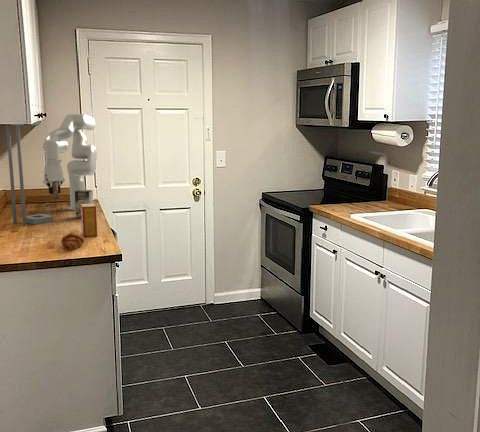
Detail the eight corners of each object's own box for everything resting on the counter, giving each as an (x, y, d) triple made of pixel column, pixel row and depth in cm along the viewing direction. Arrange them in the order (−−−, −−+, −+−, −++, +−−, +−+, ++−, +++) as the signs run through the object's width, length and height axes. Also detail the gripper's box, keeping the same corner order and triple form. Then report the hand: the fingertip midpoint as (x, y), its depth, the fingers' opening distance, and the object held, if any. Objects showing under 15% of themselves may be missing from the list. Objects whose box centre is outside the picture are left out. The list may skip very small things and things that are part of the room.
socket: (41, 218, 312) (41, 213, 311) (53, 221, 305) (53, 216, 304) (22, 221, 302) (22, 216, 302) (34, 224, 295) (33, 219, 295)
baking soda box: (81, 233, 273) (80, 203, 270) (94, 232, 275) (93, 202, 272) (83, 237, 264) (82, 206, 261) (97, 236, 267) (95, 205, 264)
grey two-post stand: (35, 219, 309) (28, 120, 298) (46, 222, 302) (40, 121, 291) (12, 223, 298) (4, 120, 287) (23, 226, 291) (16, 121, 280)
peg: (56, 198, 313) (55, 181, 311) (60, 198, 310) (59, 181, 309) (50, 198, 310) (49, 181, 308) (53, 199, 307) (53, 182, 306)
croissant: (70, 248, 257) (61, 234, 255) (88, 238, 258) (80, 224, 256) (62, 258, 236) (53, 243, 235) (82, 248, 237) (73, 232, 235)
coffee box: (75, 217, 316) (73, 191, 313) (79, 215, 322) (78, 189, 319) (90, 218, 315) (88, 191, 312) (94, 216, 322) (92, 189, 319)
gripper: (62, 161, 315) (63, 191, 318) (36, 162, 302) (38, 194, 305) (69, 161, 311) (70, 192, 314) (43, 163, 298) (45, 195, 301)
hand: (54, 193), depth 310 cm, fingers closed on peg, 4 cm apart
